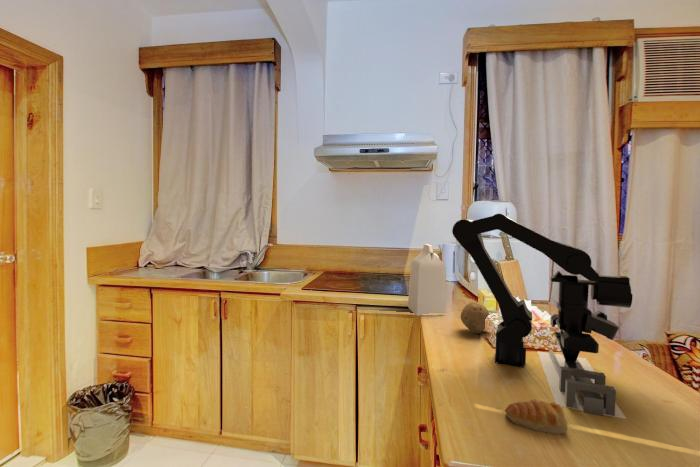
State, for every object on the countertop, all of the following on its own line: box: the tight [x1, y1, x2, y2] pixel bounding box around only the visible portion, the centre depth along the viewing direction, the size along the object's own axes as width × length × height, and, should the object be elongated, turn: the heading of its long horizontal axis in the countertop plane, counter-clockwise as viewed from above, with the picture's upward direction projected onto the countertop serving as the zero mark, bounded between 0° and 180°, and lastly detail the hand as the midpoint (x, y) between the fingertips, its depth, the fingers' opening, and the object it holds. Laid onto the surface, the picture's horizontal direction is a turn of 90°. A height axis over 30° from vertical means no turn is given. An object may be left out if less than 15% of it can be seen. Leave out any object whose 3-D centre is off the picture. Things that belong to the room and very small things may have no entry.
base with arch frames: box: [536, 349, 627, 420], centre depth 76 cm, size 11×28×5 cm, turn 157°
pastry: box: [505, 399, 568, 435], centre depth 61 cm, size 9×7×4 cm
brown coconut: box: [460, 301, 491, 334], centre depth 107 cm, size 9×9×10 cm
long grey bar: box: [564, 361, 604, 416], centre depth 70 cm, size 3×17×3 cm, turn 158°
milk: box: [407, 243, 448, 317], centre depth 131 cm, size 12×12×26 cm
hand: (570, 367), depth 79 cm, fingers closed
